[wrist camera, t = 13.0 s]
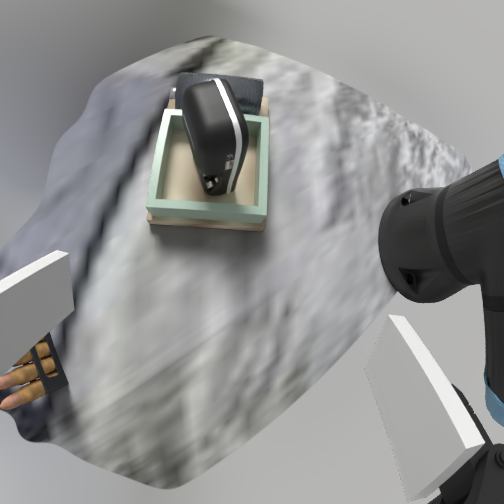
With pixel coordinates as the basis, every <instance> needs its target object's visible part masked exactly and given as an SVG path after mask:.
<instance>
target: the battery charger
mask: <svg viewBox="0 0 504 504" xmlns="http://www.w3.org/2000/svg"><path fill="white" fill-rule="evenodd" d="M182 120H183V126H184V129H185V132H186V135H187V138H188V141H189V144H190V147H191V151H192V154H193V158H194V161H195V164H196V167H197V170H198V173H199V177H200V180H201V183H202V186H203V188H204V190H205V192H206V193H207V194H208V195H211V196H218V195H223V194H230V192H233V191H234V190H235V188H236V184H237V180H238V177H239V175H240V172H241V169H242V166H243V163H244V160H245V156H246V153H247V149H248V145H249V130H248V126H247V123H246V120H245V117H244V115H243V113H242V110H241V108H240V106H239V103H238V101H237V99H236V97H235V94H234V92H233V90H232V88H231V86H230V84H229V82H228V81H227V80H226V79H218V78H215V79H212V80H211V81H206V82H201V83H197V84H193V85H190V86H189V87H187V88H186V89H185V91H184V93H183V97H182Z"/></svg>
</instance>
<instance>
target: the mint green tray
mask: <svg viewBox="0 0 504 504" xmlns="http://www.w3.org/2000/svg"><path fill="white" fill-rule="evenodd" d="M215 78H218V79H226V80H227V81H228V82H229V84H230V86H231V88H232V90H233V92H234V94H235V97H236V99H237V101H238V103H239V106H240V108H241V110H242V113H243V115H244V117H245V120H246V123H247V126H248V130H249V145H248V149H247V153H246V156H245V160H244V163H243V166H242V169H241V172H240V175H239V177H238V180H237V184H236V188H235V190H234V191H233V192H230V194H223V195H218V196H211V195H208V194H207V193H206V192H205V190H204V188H203V186H202V183H201V180H200V177H199V173H198V170H197V167H196V164H195V161H194V158H193V154H192V151H191V147H190V144H189V141H188V138H187V135H186V132H185V129H184V126H183V120H182V97H183V93H184V91H185V89H186V88H187V87H189V86H190V85H193V84H197V83H201V82H206V81H211V80H212V79H215ZM169 99H170V100H169V104H168V108H167V109H165V111H164V115H163V119H162V123H161V127H160V132H159V136H158V141H157V146H156V151H155V156H154V161H153V166H152V172H151V177H150V183H149V189H148V196H147V202H146V208H147V210H148V214H147V221H148V223H149V224H160V225H176V226H192V227H206V228H221V229H234V230H247V231H260V232H262V231H263V230H264V229H265V217H266V216H267V187H268V145H269V117H268V98H266V97H263V79H256V78H248V77H239V76H229V75H217V74H202V73H180V75H179V78H178V81H177V86H176V88H170V92H169Z"/></svg>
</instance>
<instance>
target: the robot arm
mask: <svg viewBox="0 0 504 504" xmlns="http://www.w3.org/2000/svg"><path fill="white" fill-rule="evenodd" d="M379 250H380V256H381V260H382V264H383V267H384V269H385V272H386V274H387V276H388V278H389V280H390V281H391V283H392V285H393V286H394V287H395V288H396V290H397V291H398V292H399V293H400V294H401V295H403V296H404V297H405V298H407V299H409V300H411V301H413V302H417V303H435V302H439V301H442V300H444V299H446V298H448V297H450V296H451V295H453V294H455V293H457V292H458V291H460V290H462V289H463V288H465V287H467V286H469V285H475V284H480V285H481V291H482V299H483V311H484V322H485V339H486V340H485V341H486V365H485V372H484V381H485V384H486V395H485V400H486V406H487V409H488V410H489V412H490V414H491V416H492V418H493V419H494V420H495V421H496V422H497V423H499V424H500V425H501V426H503V427H504V154H503V155H502V156H501V157H499V159H498V160H496V161H494V162H492V163H490V164H489V165H487V166H485V167H483V168H481V169H479V170H477V171H475V172H473V173H471V174H470V175H468V176H466V177H464V178H462V179H460V180H458V181H456V182H454V183H453V184H451V185H449V186H446V187H440V188H416V189H411V190H408V191H406V192H404V193H402V194H401V195H399V196H397V197H396V198H394V199H393V200H392V201H391V202H390V203H389V204H388V206H387V207H386V209H385V211H384V213H383V215H382V218H381V222H380V227H379ZM72 311H74V303H73V295H72V286H71V275H70V262H69V253H65V252H61V251H58V250H56V251H54V252H52V253H50V254H48V255H46V256H44V257H43V258H41V259H39V260H37V261H35V262H33V263H31V264H29V265H27V266H26V267H24V268H22V269H20V270H18V271H17V272H15V273H13V274H11V275H9V276H8V277H6V278H4V279H2V280H1V281H0V378H1V377H2V376H3V375H4V374H5V373H6V372H7V371H8V370H9V369H10V368H11V367H12V366H13V365H14V364H15V363H16V362H17V361H18V360H19V359H20V358H21V357H23V356H24V355H25V354H26V353H27V352H28V351H29V350H30V349H31V348H32V347H33V346H34V345H35V344H36V343H37V342H39V341H40V340H41V339H42V338H43V337H44V336H45V335H46V334H47V333H49V332H50V331H51V330H52V329H53V328H54V327H55V326H56V325H58V324H59V323H60V322H61V321H62V320H63V319H64V318H66V317H67V316H68V315H69V314H70V313H71V312H72ZM365 372H366V375H367V378H368V380H369V383H370V386H371V389H372V391H373V394H374V397H375V400H376V403H377V406H378V408H379V411H380V414H381V417H382V420H383V423H384V426H385V429H386V432H387V435H388V438H389V442H390V445H391V448H392V451H393V455H394V458H395V461H396V465H397V468H398V471H399V475H400V478H401V482H402V486H403V489H404V493H405V497H406V500H407V502H409V501H413V500H417V499H421V498H425V497H427V496H429V495H430V494H431V493H432V492H434V491H435V490H436V489H437V488H440V491H441V494H440V495H439V496H437V497H436V498H435V499H433V500H432V501H431V502H429V503H428V504H504V444H500V443H499V444H495V445H493V444H492V442H491V440H490V438H489V436H488V435H487V433H486V431H485V430H484V428H483V426H482V424H481V423H480V421H479V419H478V417H477V416H476V414H474V411H473V409H472V408H471V406H470V405H468V404H469V403H468V401H467V399H466V398H465V396H464V395H463V393H462V392H461V391H460V390H459V389H457V388H456V387H455V386H454V385H453V384H450V382H449V381H448V379H447V378H446V376H445V374H444V373H443V372H442V370H441V368H440V367H439V365H438V364H437V363H436V361H435V359H434V358H433V357H432V355H431V354H430V352H429V351H428V349H427V348H426V346H425V345H424V343H423V342H422V341H421V339H420V338H419V336H418V335H417V334H416V332H415V331H414V329H413V328H412V327H411V325H410V324H409V323H408V321H407V320H406V319H405V317H404V316H397V315H388V316H387V318H386V321H385V323H384V326H383V328H382V330H381V333H380V336H379V338H378V340H377V342H376V344H375V347H374V349H373V351H372V353H371V356H370V358H369V360H368V362H367V364H366V367H365Z"/></svg>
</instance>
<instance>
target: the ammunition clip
mask: <svg viewBox="0 0 504 504" xmlns="http://www.w3.org/2000/svg"><path fill="white" fill-rule="evenodd" d="M40 359H41V360H40ZM31 361H34V362H32V363H29V362H31ZM22 364H23V366H21V367H18V368H15V369H14V370H12V371H11V372H9V373H7V374H5V375H3V376H2V377H1V378H0V389H6V388H10V387H13V386H16V385H23V384H25V383H28V382H30V383H29V384H27V385H25V386H23V387H21V388H20V389H19V390H18V391H16V392H15V393H13V394H11V395H9V396H8V397H7V398H5V399H4V400H3V402H2V403H1V405H0V408H1V409H13V408H16V407H18V406H20V405H23V404H25V403H30V402H32V401H34V400H36V399H38V398H39V397H41V396H43V395H45V394H47V393H50V392H52V391H54V390H56V389H58V388H61V387H63V386H65V385H67V384H68V381H67V378H66V376H65V373H64V371H63V368H62V366H61V363H60V361H59V358H58V355H57V353H56V350H55V347H54V344H53V341H52V338H51V335H50V332H49V333H47V334H46V335H45V336H44V337H43V338H42V339H41V340H40V341H39V342H37V343H36V344H35V345H34V346H33V347H32V348H31V349H30V350H29V351H28V352H27V353H26V354H25V355H24V356H23V357H21V358H20V359H19V360H18V361H17V362H16V363H15V364H14V365H13V366H12V367H15V366H19V365H22ZM46 374H47V375H46ZM39 377H40V379H38V380H36V379H37V378H39Z"/></svg>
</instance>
